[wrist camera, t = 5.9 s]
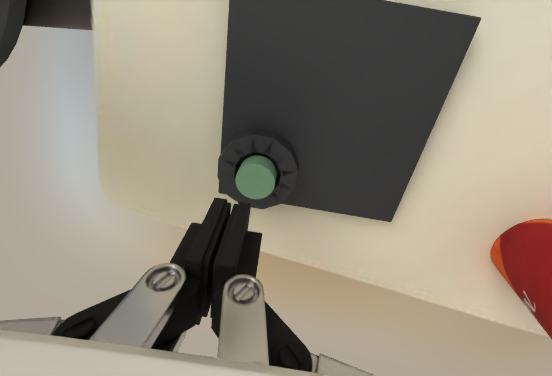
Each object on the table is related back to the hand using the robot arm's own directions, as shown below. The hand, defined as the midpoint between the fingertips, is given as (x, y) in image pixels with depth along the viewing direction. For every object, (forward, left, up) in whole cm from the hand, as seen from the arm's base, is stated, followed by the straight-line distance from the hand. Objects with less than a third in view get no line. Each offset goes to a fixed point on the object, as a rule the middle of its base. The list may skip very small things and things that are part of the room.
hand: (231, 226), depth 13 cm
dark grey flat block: (+4, +4, -10) cm, 11 cm away
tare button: (0, 0, -7) cm, 7 cm away
